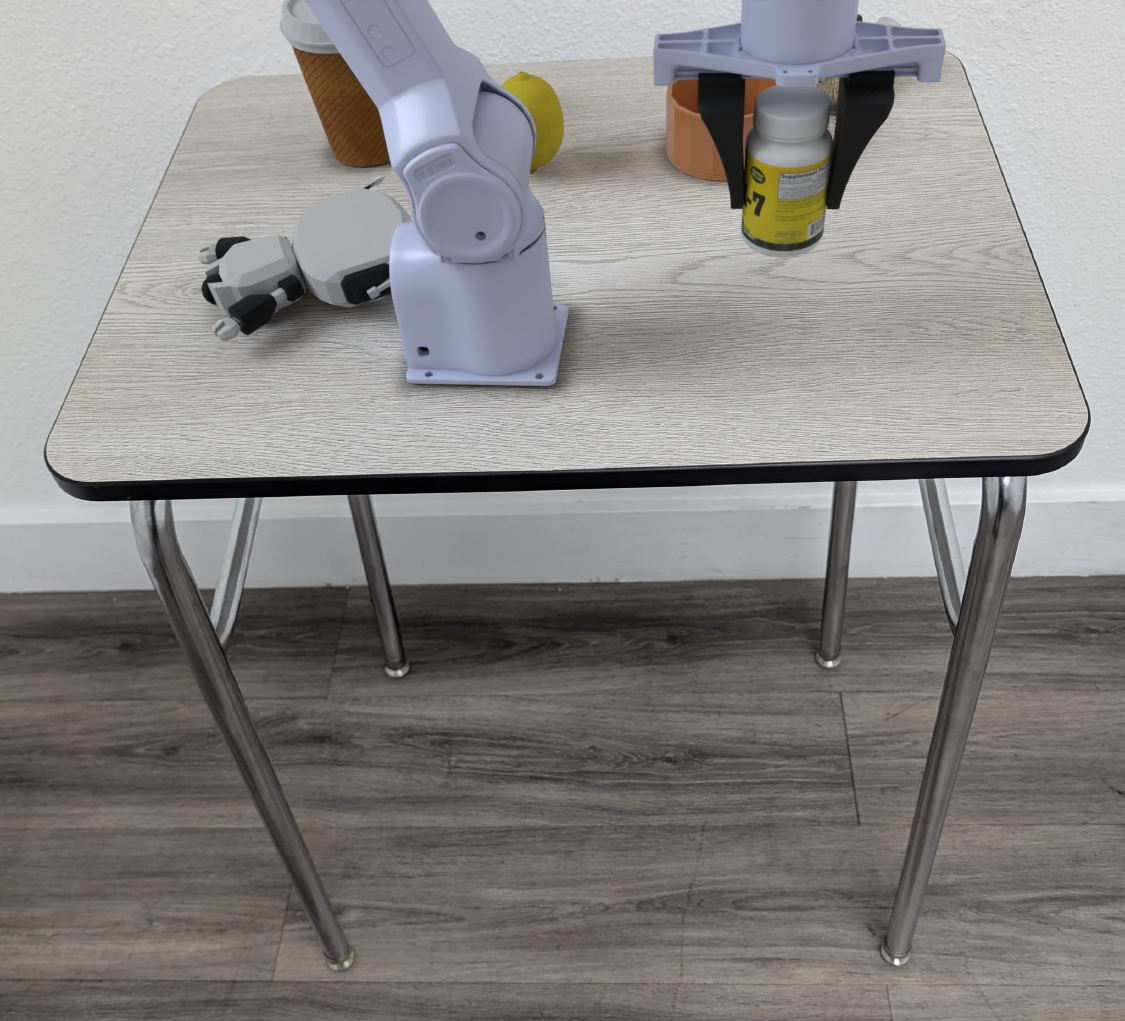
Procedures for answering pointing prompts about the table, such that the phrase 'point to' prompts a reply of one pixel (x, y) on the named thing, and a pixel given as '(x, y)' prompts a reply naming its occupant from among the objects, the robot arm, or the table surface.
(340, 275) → the robot toy
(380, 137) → the disposable coffee cup
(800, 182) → the supplement bottle
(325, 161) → the table surface
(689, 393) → the table surface
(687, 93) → the copper cup
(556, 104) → the lemon
